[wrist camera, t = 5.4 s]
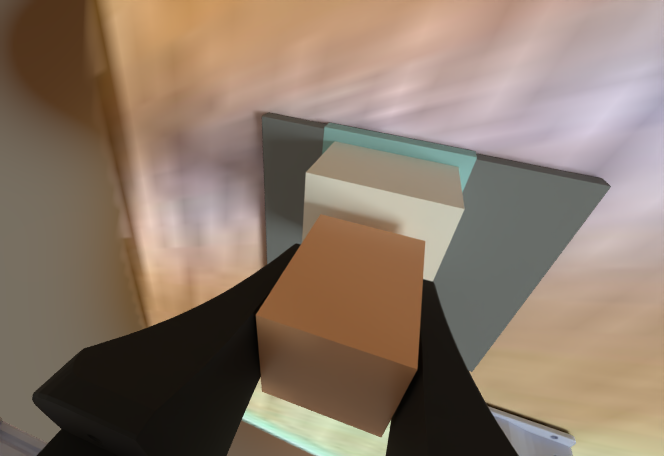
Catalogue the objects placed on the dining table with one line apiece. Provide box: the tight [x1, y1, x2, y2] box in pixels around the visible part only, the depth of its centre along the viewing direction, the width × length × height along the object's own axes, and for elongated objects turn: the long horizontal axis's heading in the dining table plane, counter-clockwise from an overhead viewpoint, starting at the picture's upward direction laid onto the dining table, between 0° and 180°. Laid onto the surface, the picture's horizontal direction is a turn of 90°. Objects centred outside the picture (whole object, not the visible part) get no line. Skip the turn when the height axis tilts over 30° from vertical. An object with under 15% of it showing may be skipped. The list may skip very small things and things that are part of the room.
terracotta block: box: [256, 214, 425, 437], centre depth 10 cm, size 4×4×5 cm
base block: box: [302, 141, 465, 281], centre depth 14 cm, size 6×6×4 cm
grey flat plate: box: [262, 113, 611, 372], centre depth 18 cm, size 16×15×1 cm
